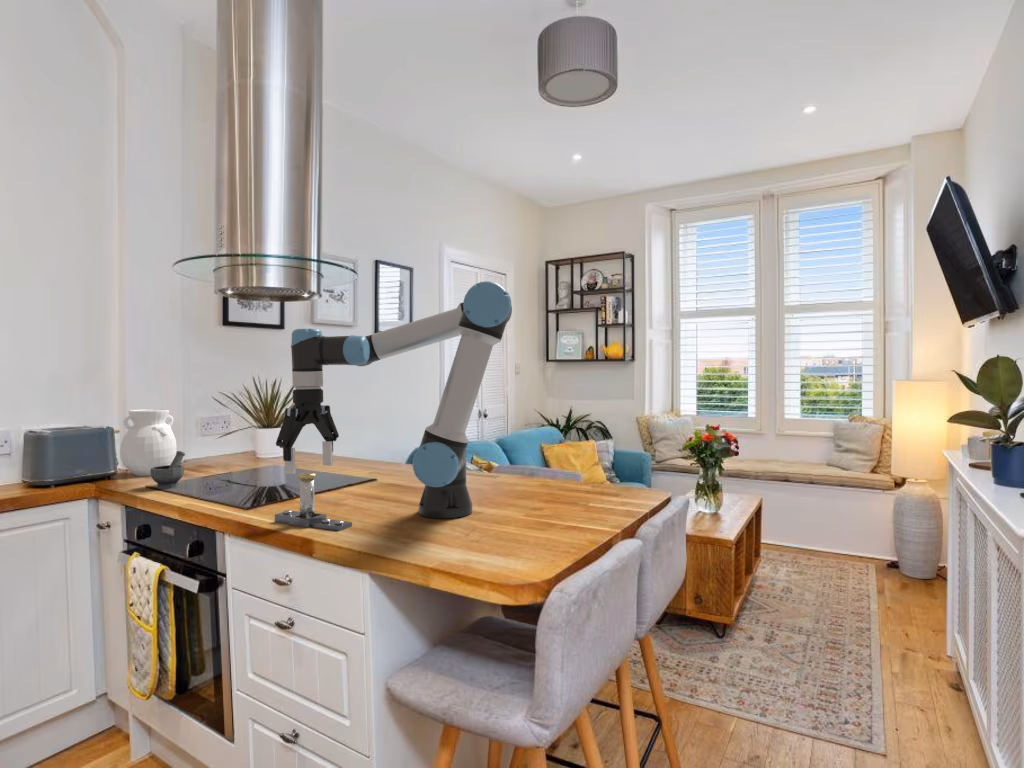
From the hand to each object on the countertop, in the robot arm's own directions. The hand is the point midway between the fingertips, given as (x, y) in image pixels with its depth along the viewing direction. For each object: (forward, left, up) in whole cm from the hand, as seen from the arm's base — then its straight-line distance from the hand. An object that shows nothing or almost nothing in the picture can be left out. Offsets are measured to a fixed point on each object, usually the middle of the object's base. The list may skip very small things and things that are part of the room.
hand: (309, 469), depth 148 cm
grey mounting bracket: (-1, 0, -14) cm, 14 cm away
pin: (+1, 0, -14) cm, 14 cm away
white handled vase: (+109, -32, -14) cm, 115 cm away
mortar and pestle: (+78, -18, -14) cm, 82 cm away
